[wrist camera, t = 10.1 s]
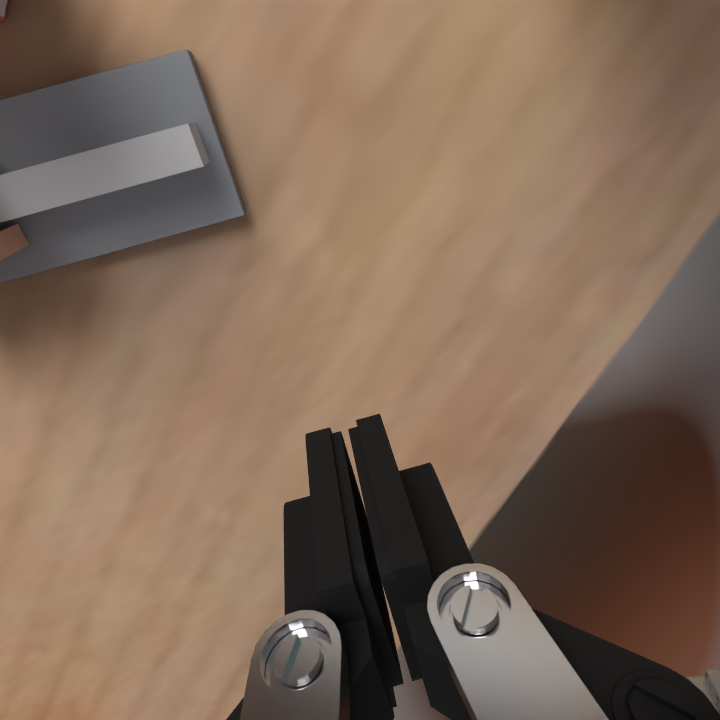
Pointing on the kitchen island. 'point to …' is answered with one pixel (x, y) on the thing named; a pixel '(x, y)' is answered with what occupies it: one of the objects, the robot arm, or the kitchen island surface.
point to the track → (104, 125)
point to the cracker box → (3, 9)
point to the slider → (11, 240)
